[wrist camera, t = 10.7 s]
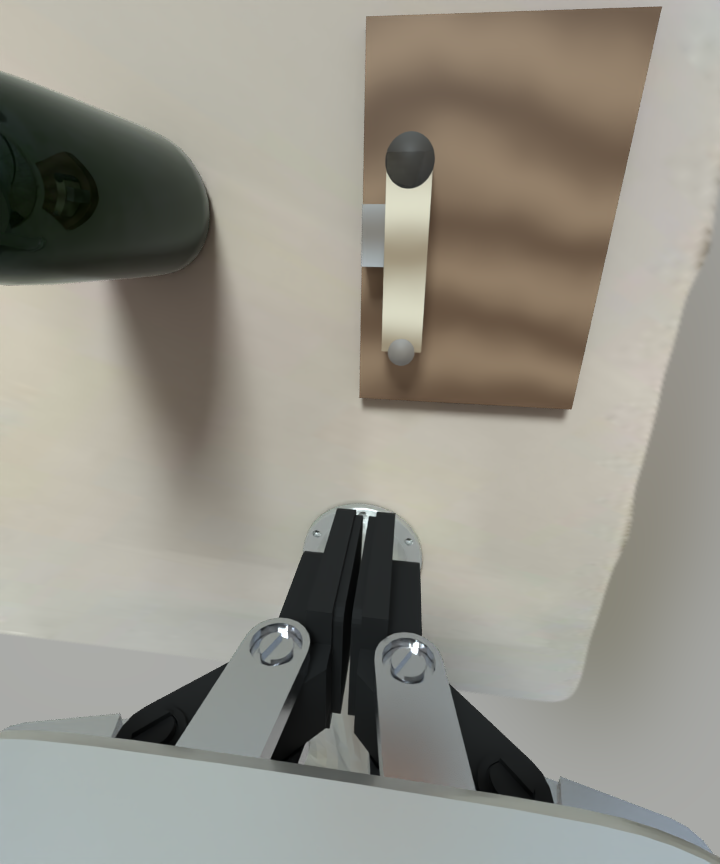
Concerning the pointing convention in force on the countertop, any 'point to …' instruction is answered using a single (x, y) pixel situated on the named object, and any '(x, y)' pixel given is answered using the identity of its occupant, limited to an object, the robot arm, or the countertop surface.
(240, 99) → the countertop surface
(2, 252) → the green wine bottle
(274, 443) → the countertop surface
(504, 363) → the brown wooden flat board
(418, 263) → the folding leg
